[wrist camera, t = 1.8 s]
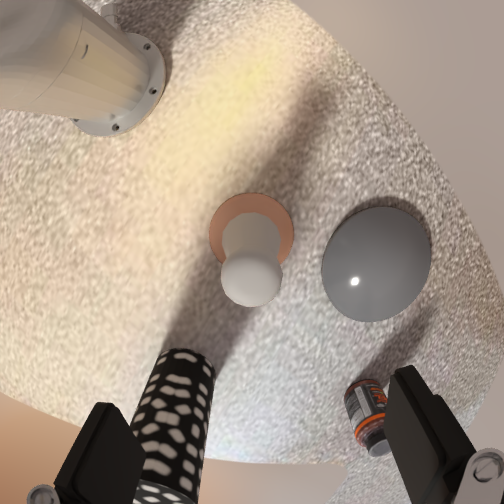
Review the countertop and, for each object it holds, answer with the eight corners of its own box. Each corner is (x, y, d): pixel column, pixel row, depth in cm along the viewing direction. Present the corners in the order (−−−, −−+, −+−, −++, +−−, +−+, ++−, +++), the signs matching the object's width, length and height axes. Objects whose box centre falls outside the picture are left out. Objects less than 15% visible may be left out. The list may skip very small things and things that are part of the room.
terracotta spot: (201, 201, 32) (201, 201, 31) (286, 186, 31) (286, 186, 31) (218, 280, 34) (218, 281, 34) (298, 267, 34) (298, 267, 34)
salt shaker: (227, 263, 33) (213, 324, 21) (220, 211, 32) (200, 245, 19) (280, 258, 33) (296, 317, 21) (276, 206, 32) (292, 237, 19)
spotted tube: (189, 338, 36) (148, 472, 17) (227, 381, 39) (216, 511, 19) (143, 362, 38) (91, 480, 19) (181, 401, 40) (153, 518, 21)
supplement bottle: (387, 383, 39) (415, 437, 28) (362, 409, 41) (383, 463, 30) (360, 372, 38) (385, 430, 28) (334, 400, 40) (352, 459, 29)
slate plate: (314, 215, 32) (316, 217, 31) (426, 199, 31) (430, 200, 30) (325, 328, 36) (327, 332, 35) (424, 305, 35) (428, 308, 34)
